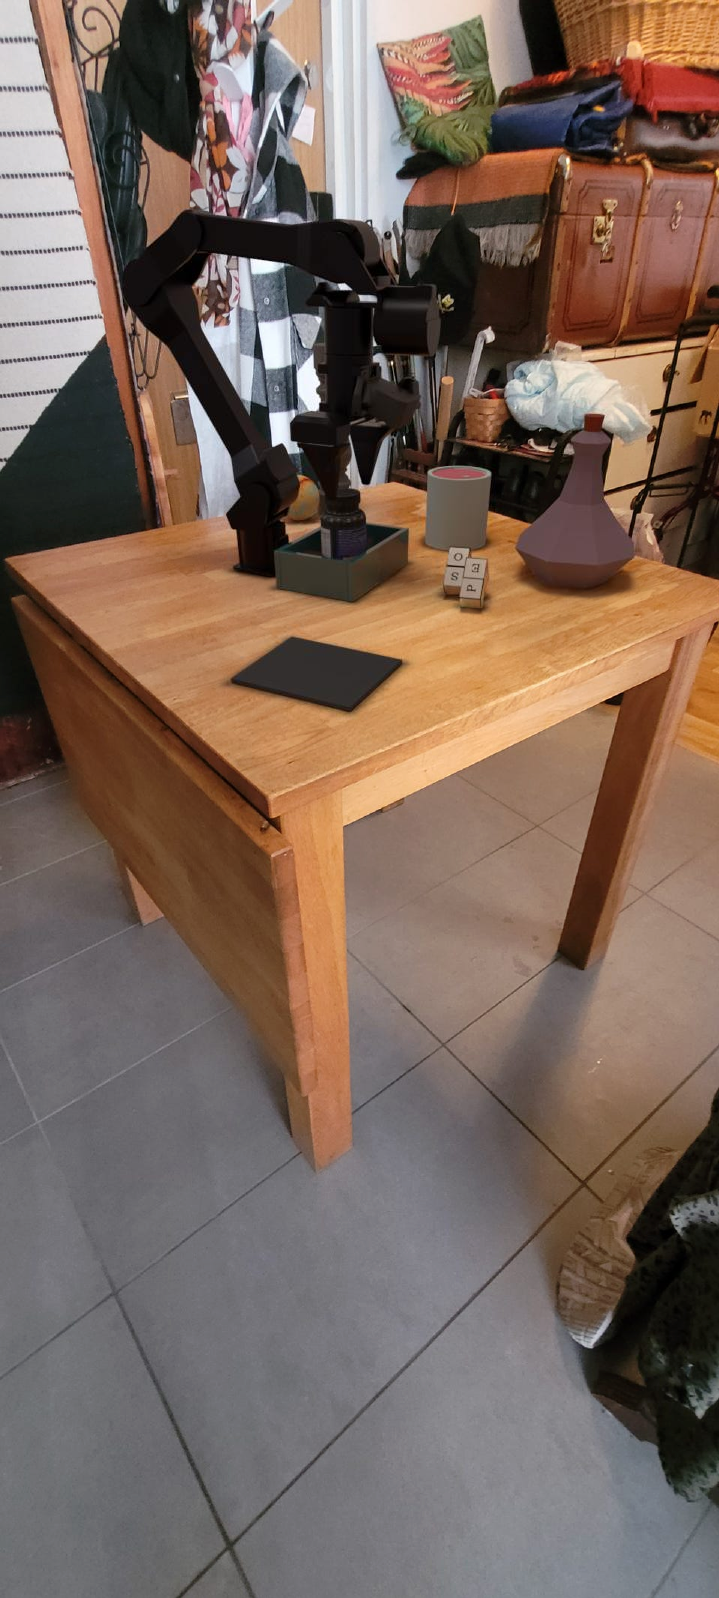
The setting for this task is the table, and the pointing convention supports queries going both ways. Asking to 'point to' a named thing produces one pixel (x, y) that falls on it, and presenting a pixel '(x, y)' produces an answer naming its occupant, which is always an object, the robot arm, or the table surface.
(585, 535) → the flask
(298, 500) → the ball
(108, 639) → the table surface
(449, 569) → the building blocks
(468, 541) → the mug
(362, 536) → the pill bottle
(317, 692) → the mat
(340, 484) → the candle holder
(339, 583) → the teal open box
